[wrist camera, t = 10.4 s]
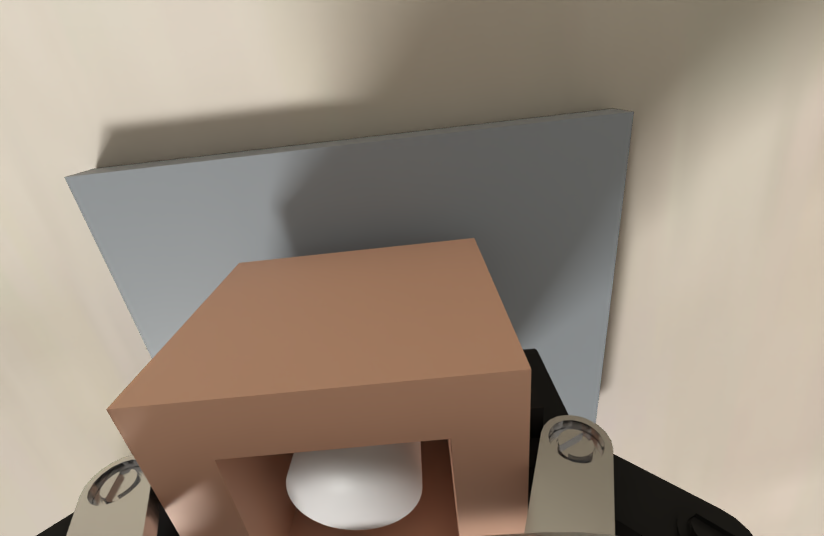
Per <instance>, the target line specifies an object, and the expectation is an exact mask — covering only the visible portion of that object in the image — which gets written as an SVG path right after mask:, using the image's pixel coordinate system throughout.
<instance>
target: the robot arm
mask: <svg viewBox="0 0 824 536" xmlns="http://www.w3.org/2000/svg"><path fill="white" fill-rule="evenodd" d="M523 351H524V353H525V356H526V358H527V360H528V363H529V365H530V367H531V401H530V440H529V479H528V514H527V519H526V525H525V531H524V533H521V534H504V535H486V536H753V535H752V534H751V533H750V531H749V530H748V529H747V528H746V527H745V526H744V525H742V524H741V523H740V522H739V521H738V520H737V519H736V518H734V517H733V516H731V515H729V514H728V513H726V512H725V511H723V510H721V509H720V508H718V507H716V506H714V505H712V504H710V503H708V502H706V501H704V500H702V499H700V498H698V497H696V496H694V495H692V494H690V493H688V492H686V491H685V490H683V489H681V488H679V487H677V486H675V485H673V484H671V483H669V482H667V481H665V480H663V479H661V478H659V477H657V476H655V475H653V474H651V473H649V472H648V471H646V470H644V469H642V468H640V467H638V466H636V465H634V464H632V463H630V462H628V461H626V460H624V459H622V458H620V457H618V456H616V455H614V454H613V446H612V442H611V439H610V438H609V436H608V435H607V433H606V432H605V431H604V430H603V429H602V428H601V427H600V426H599V425H597V424H596V423H594V422H592V421H590V420H588V419H586V418H582V417H579V416H573V415H568V413H567V410H566V408H565V406H564V404H563V402H562V400H561V398H560V396H559V394H558V392H557V390H556V388H555V386H554V384H553V382H552V380H551V378H550V375H549V373H548V371H547V369H546V367H545V365H544V363H543V361H542V359H541V357H540V355H539V353H538V351H537V350H536V349H535V348H533V349H523ZM37 536H180V535H179V534H178V532H177V530H176V528H175V527H174V525H173V523H172V522H171V520H170V518H169V516H168V515H167V513H166V511H165V509H164V508H163V506H162V504H161V503H160V501H159V499H158V497H157V496H156V494H155V492H154V491H153V489H152V487H151V485H150V484H149V482H148V480H147V479H146V477H145V475H144V473H143V472H142V470H141V468H140V467H139V465H138V463H137V461H136V460H135V458H134V456H133V455H130V456H127V457H123V458H121V459H119V460H117V461H115V462H113V463H111V464H109V465H108V466H106V467H105V468H103V469H102V470H101V471H99V472H98V473H97V474H96V475H95V476H94V477H93V478H92V479H91V480H90V481H89V482H88V483H87V485H86V486H85V487H84V489H83V491H82V493H81V494H80V496H79V499H78V502H77V505H76V508H75V511H74V513H72V514H70V515H69V516H67V517H66V518H64V519H62V520H61V521H59V522H57V523H56V524H54V525H53V526H51V527H49V528H48V529H46V530H45V531H43V532H41V533H40V534H38V535H37Z"/></svg>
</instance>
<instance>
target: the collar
mask: <svg viewBox="0 0 824 536" xmlns="http://www.w3.org/2000/svg"><path fill="white" fill-rule="evenodd" d="M530 401H531V367H530V365H529V363H528V360H527V358H526V356H525V353H524V351H523V349H522V347H521V344H520V342H519V340H518V337H517V335H516V333H515V330H514V328H513V326H512V324H511V321H510V319H509V317H508V314H507V312H506V310H505V307H504V305H503V303H502V301H501V298H500V296H499V294H498V291H497V289H496V287H495V284H494V282H493V280H492V278H491V275H490V273H489V271H488V268H487V266H486V264H485V261H484V259H483V257H482V255H481V252H480V250H479V248H478V245H477V243H476V241H475V238H468V239H459V240H450V241H440V242H431V243H421V244H412V245H403V246H393V247H384V248H374V249H365V250H355V251H346V252H337V253H327V254H318V255H308V256H299V257H290V258H280V259H271V260H261V261H252V262H242V263H239V264H238V265H237V266H236V267H235V268H234V269H233V270H232V271H231V272H230V274H229V275H228V276H227V277H226V278H225V279H224V280H223V281H222V282H221V284H220V285H219V286H218V287H217V288H216V289H215V290H214V291H213V292H212V293H211V295H210V296H209V297H208V298H207V299H206V300H205V301H204V302H203V303H202V304H201V306H200V307H199V308H198V309H197V310H196V311H195V312H194V313H193V314H192V316H191V317H190V318H189V319H188V320H187V321H186V322H185V323H184V324H183V325H182V327H181V328H180V329H179V330H178V331H177V332H176V333H175V334H174V335H173V336H172V338H171V339H170V340H169V341H168V342H167V343H166V344H165V345H164V346H163V348H162V349H161V350H160V351H159V352H158V353H157V354H156V355H155V356H154V357H153V359H152V360H151V361H150V362H149V363H148V364H147V365H146V366H145V367H144V368H143V370H142V371H141V372H140V373H139V374H138V375H137V376H136V377H135V378H134V380H133V381H132V382H131V383H130V384H129V385H128V386H127V387H126V388H125V389H124V391H123V392H122V393H121V394H120V395H119V396H118V397H117V398H116V399H115V400H114V402H113V403H112V404H111V405H110V406H109V407H108V408H107V409H106V410H107V412H108V413H109V415H110V417H111V418H112V420H113V422H114V424H115V425H116V427H117V429H118V430H119V432H120V434H121V436H122V437H123V439H124V441H125V442H126V444H127V446H128V448H129V449H130V451H131V453H132V455H133V456H134V458H135V460H136V461H137V463H138V465H139V467H140V468H141V470H142V472H143V473H144V475H145V477H146V479H147V480H148V482H149V484H150V485H151V487H152V489H153V491H154V492H155V494H156V496H157V497H158V499H159V501H160V503H161V504H162V506H163V508H164V509H165V511H166V513H167V515H168V516H169V518H170V520H171V522H172V523H173V525H174V527H175V528H176V530H177V532H178V534H179V535H180V536H486V535H504V534H521V533H524V531H525V525H526V519H527V514H528V479H529V440H530ZM420 441H421V464H422V487H423V488H422V494H421V497H420V500H419V502H418V503H417V505H416V506H415V508H414V509H413V510H412V511H411V512H410V513H409V514H408V515H406V516H405V517H403V518H402V519H400V520H398V521H397V522H395V523H392V524H390V525H387V526H384V527H380V528H375V529H369V530H345V529H338V528H333V527H330V526H326V525H323V524H321V523H318V522H316V521H314V520H312V519H310V518H309V517H307V516H306V515H304V514H303V513H302V512H301V511H300V510H298V508H297V507H296V506H295V505H294V504H293V502H292V501H291V499H290V497H289V495H288V492H287V488H286V478H287V474H288V470H289V467H290V464H291V460H292V457H293V454H294V453H297V452H308V451H320V450H331V449H342V448H353V447H364V446H375V445H386V444H397V443H409V442H420Z"/></svg>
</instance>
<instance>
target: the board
mask: <svg viewBox="0 0 824 536" xmlns="http://www.w3.org/2000/svg"><path fill="white" fill-rule="evenodd" d="M633 114H634V112H633V111H626V110H619V109H606V110H597V111H588V112H580V113H571V114H562V115H554V116H545V117H536V118H528V119H519V120H510V121H502V122H493V123H484V124H476V125H467V126H459V127H450V128H441V129H433V130H424V131H415V132H407V133H398V134H389V135H381V136H372V137H363V138H355V139H346V140H337V141H329V142H320V143H311V144H303V145H294V146H285V147H277V148H268V149H260V150H251V151H242V152H234V153H225V154H216V155H208V156H199V157H190V158H182V159H173V160H164V161H156V162H147V163H138V164H130V165H121V166H112V167H104V168H95V169H91V170H88V171H84V172H81V173H77V174H74V175H70V176H67V177H65V179H66V182H67V184H68V186H69V188H70V190H71V192H72V194H73V196H74V198H75V200H76V202H77V204H78V206H79V208H80V211H81V213H82V215H83V217H84V219H85V221H86V223H87V225H88V227H89V229H90V231H91V233H92V235H93V237H94V240H95V242H96V244H97V246H98V248H99V250H100V252H101V254H102V256H103V258H104V260H105V262H106V264H107V266H108V268H109V271H110V273H111V275H112V277H113V279H114V281H115V283H116V285H117V287H118V289H119V291H120V293H121V295H122V297H123V300H124V302H125V304H126V306H127V308H128V310H129V312H130V314H131V316H132V318H133V320H134V322H135V324H136V326H137V329H138V331H139V333H140V335H141V337H142V339H143V341H144V343H145V345H146V347H147V349H148V351H149V353H150V355H151V358H152V359H153V357H154V356H155V355H156V354H157V353H158V352H159V351H160V350H161V349H162V348H163V346H164V345H165V344H166V343H167V342H168V341H169V340H170V339H171V338H172V336H173V335H174V334H175V333H176V332H177V331H178V330H179V329H180V328H181V327H182V325H183V324H184V323H185V322H186V321H187V320H188V319H189V318H190V317H191V316H192V314H193V313H194V312H195V311H196V310H197V309H198V308H199V307H200V306H201V304H202V303H203V302H204V301H205V300H206V299H207V298H208V297H209V296H210V295H211V293H212V292H213V291H214V290H215V289H216V288H217V287H218V286H219V285H220V284H221V282H222V281H223V280H224V279H225V278H226V277H227V276H228V275H229V274H230V272H231V271H232V270H233V269H234V268H235V267H236V266H237V265H238V264H239V263H242V262H252V261H261V260H271V259H280V258H290V257H299V256H308V255H318V254H327V253H337V252H346V251H355V250H365V249H374V248H384V247H393V246H403V245H412V244H421V243H431V242H440V241H450V240H459V239H468V238H475V241H476V243H477V245H478V248H479V250H480V252H481V255H482V257H483V259H484V261H485V264H486V266H487V268H488V271H489V273H490V275H491V278H492V280H493V282H494V284H495V287H496V289H497V291H498V294H499V296H500V298H501V301H502V303H503V305H504V307H505V310H506V312H507V314H508V317H509V319H510V321H511V324H512V326H513V328H514V330H515V333H516V335H517V337H518V340H519V342H520V344H521V347H522V349H533V348H535V349H536V350H537V351H538V353H539V355H540V357H541V359H542V361H543V363H544V365H545V367H546V369H547V371H548V373H549V375H550V378H551V380H552V382H553V384H554V386H555V388H556V390H557V392H558V394H559V396H560V398H561V400H562V402H563V404H564V406H565V408H566V410H567V413H568V415H573V416H579V417H582V418H586V419H588V420H590V421H592V422H594V423H596V416H597V408H598V400H599V392H600V384H601V376H602V367H603V359H604V351H605V343H606V335H607V327H608V318H609V310H610V302H611V294H612V286H613V278H614V269H615V261H616V253H617V245H618V237H619V229H620V220H621V212H622V204H623V196H624V188H625V180H626V171H627V163H628V155H629V147H630V139H631V131H632V123H633ZM286 488H287V492H288V495H289V497H290V499H291V501H292V502H293V504H294V505H295V506H296V507H297V508H298V510H300V511H301V512H302V513H303V514H304V515H306V516H307V517H309V518H310V519H312V520H314V521H316V522H318V523H321V524H323V525H326V526H330V527H333V528H338V529H345V530H369V529H375V528H380V527H384V526H387V525H390V524H392V523H395V522H397V521H398V520H400V519H402V518H403V517H405V516H406V515H408V514H409V513H410V512H411V511H412V510H413V509H414V508H415V506H416V505H417V503H418V502H419V500H420V497H421V494H422V488H423V487H422V464H421V441H420V442H409V443H397V444H386V445H375V446H364V447H353V448H342V449H331V450H320V451H308V452H297V453H294V454H293V457H292V460H291V464H290V467H289V470H288V474H287V478H286Z"/></svg>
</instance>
